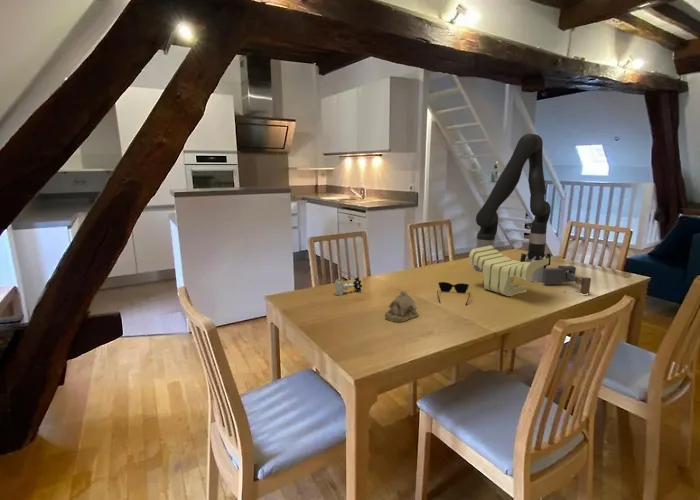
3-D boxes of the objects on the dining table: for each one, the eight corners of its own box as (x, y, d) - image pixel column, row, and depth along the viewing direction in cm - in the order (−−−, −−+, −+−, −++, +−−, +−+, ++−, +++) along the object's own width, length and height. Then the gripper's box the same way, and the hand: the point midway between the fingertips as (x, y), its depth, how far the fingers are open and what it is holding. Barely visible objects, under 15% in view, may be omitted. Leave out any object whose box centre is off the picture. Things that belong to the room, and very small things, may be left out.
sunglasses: (468, 294, 181) (469, 283, 180) (469, 308, 166) (470, 297, 165) (437, 291, 184) (438, 281, 183) (436, 306, 170) (436, 295, 168)
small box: (542, 282, 196) (544, 261, 194) (531, 282, 196) (533, 261, 194) (535, 277, 204) (537, 257, 202) (524, 277, 204) (526, 257, 202)
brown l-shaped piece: (567, 296, 176) (569, 278, 174) (543, 281, 197) (545, 265, 195) (589, 295, 177) (592, 278, 175) (563, 281, 197) (565, 265, 195)
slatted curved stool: (467, 285, 192) (469, 249, 188) (488, 279, 200) (491, 245, 196) (522, 304, 167) (527, 263, 163) (544, 296, 176) (549, 257, 172)
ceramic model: (398, 307, 165) (398, 284, 162) (422, 313, 158) (423, 289, 156) (379, 318, 154) (380, 294, 151) (405, 325, 147) (406, 300, 145)
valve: (338, 297, 177) (362, 293, 182) (337, 283, 176) (362, 279, 181) (332, 292, 183) (355, 289, 188) (332, 279, 181) (355, 275, 186)
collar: (545, 284, 190) (546, 268, 188) (541, 282, 193) (543, 266, 191) (573, 283, 190) (575, 267, 188) (570, 281, 193) (572, 265, 191)
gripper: (547, 240, 199) (544, 271, 203) (519, 240, 199) (516, 271, 203) (555, 243, 192) (551, 275, 196) (526, 243, 192) (523, 275, 195)
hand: (534, 273), depth 199 cm, fingers open, 8 cm apart
